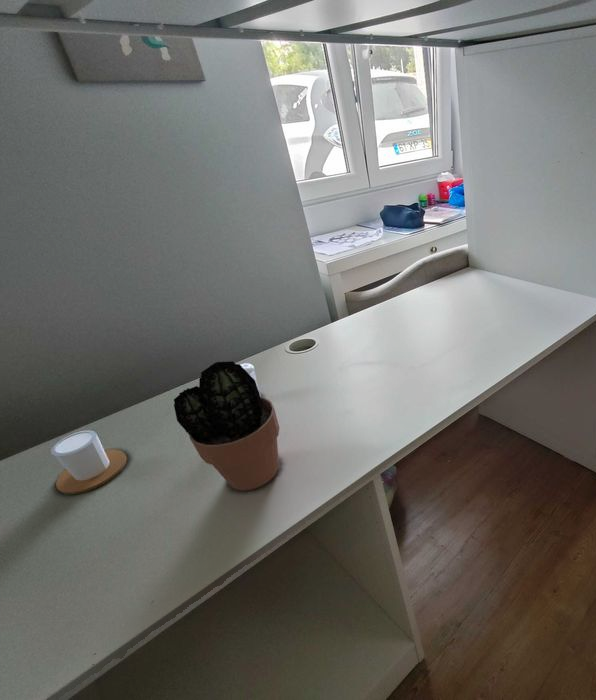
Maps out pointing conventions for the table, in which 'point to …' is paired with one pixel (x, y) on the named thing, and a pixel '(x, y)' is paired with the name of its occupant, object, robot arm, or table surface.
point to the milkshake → (250, 372)
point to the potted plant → (231, 425)
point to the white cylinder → (81, 455)
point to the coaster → (73, 486)
